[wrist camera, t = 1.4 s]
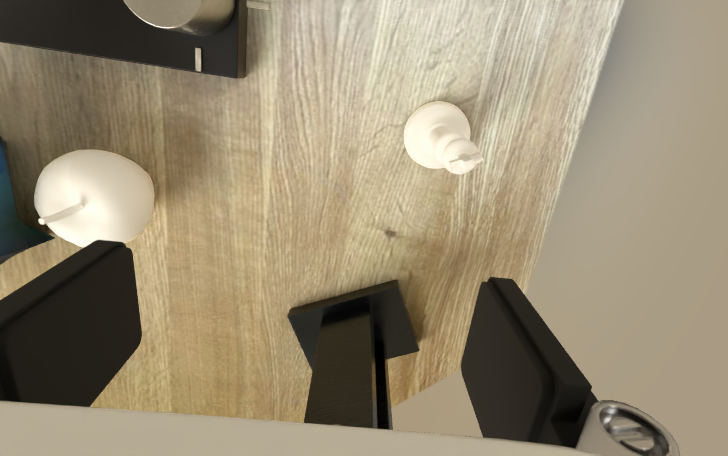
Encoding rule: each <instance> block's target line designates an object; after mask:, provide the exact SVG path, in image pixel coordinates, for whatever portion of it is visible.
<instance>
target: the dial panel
mask: <svg viewBox="0 0 728 456" xmlns="http://www.w3.org/2000/svg"><path fill="white" fill-rule="evenodd" d="M248 7H250V8H256V9H262V10H268V11H269V7H270V4H267V3H261V2H254V1H248V0H235V9H234V13H233V16H232V18H231V20H230V22H229V23H228V25H227V26H226V27H225V28H224V29H223V30H222V31H221V32H219V33H217V34H215V35H212V36H206V37H201V36H195V35H190V34H186V33H181V32H176V31H172V30H167V29H163V28H158V27H155V26H152V25H150V24H148V23H146V22H144V21H143V20H141V19H140V18H138V17H137V16H136V15H135V14H134V13H133V12H132V11H131V10H130V9H129V8H128V6H127V5H126V4H125V2H124V1H123V0H0V42H3V43H10V44H16V45H23V46H29V47H36V48H42V49H49V50H55V51H62V52H68V53H75V54H81V55H88V56H94V57H101V58H107V59H114V60H120V61H126V62H133V63H139V64H146V65H152V66H159V67H165V68H172V69H178V70H185V71H191V72H198V73H204V74H211V75H217V76H224V77H230V78H245V70H246V41H247V11H248Z"/></svg>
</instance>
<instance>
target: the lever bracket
mask: <svg viewBox="0 0 728 456" xmlns="http://www.w3.org/2000/svg"><path fill="white" fill-rule="evenodd" d="M288 319H289V321H290V323H291V325H292V328H293V330H294V332H295V334H296V336H297V338H298V341H299V343H300V345H301V347H302V349H303V352H304V354H305V356H306V358H307V360H308V362H309V365H310V367H311V369H312V371H313V373H312V378H311V384H310V390H309V396H308V401H307V407H306V413H305V419H304V423H311V424H324V425H336V426H349V427H362V428H374V429H387V430H393V427H392V414H391V401H390V389H389V376H388V364H387V359H390V358H394V357H398V356H402V355H406V354H410V353H414V352H417V351H419V346H418V341H417V338H416V335H415V332H414V329H413V326H412V323H411V320H410V317H409V314H408V311H407V308H406V305H405V302H404V298H403V295H402V292H401V289H400V286H399V283H398V280H394V281H390V282H387V283H383V284H380V285H376V286H372V287H369V288H365V289H361V290H358V291H354V292H351V293H347V294H343V295H340V296H336V297H333V298H329V299H325V300H322V301H318V302H315V303H311V304H307V305H304V306H300V307H297V308H293V309H290V311H289V314H288Z"/></svg>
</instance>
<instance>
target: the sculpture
mask: <svg viewBox="0 0 728 456" xmlns="http://www.w3.org/2000/svg"><path fill="white" fill-rule="evenodd" d="M5 147H6V142H5V141H4V140H3V139H2V137H1V136H0V265H1V264H2V263H3V262H5V261H6V260H8V259H9V258H11V257H12V256H14V255H16V254H18V253H20V252H23V251H25V250H27V249H29V248H31V247H34V246H36V245H39V244H41V243H44V242H46V241H49V240H52V239H54V237H52V236H50V235H48V234H46V233H44V232H42V231H40V230H38V229H36V228H33V227H31V226H29V225H27V224H25V223H23V222H21V221H19V220H18V215H17V210H16V205H15V199H14V194H13V189H12V184H11V179H10V173H9V168H8V163H7V158H6V153H5Z"/></svg>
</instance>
